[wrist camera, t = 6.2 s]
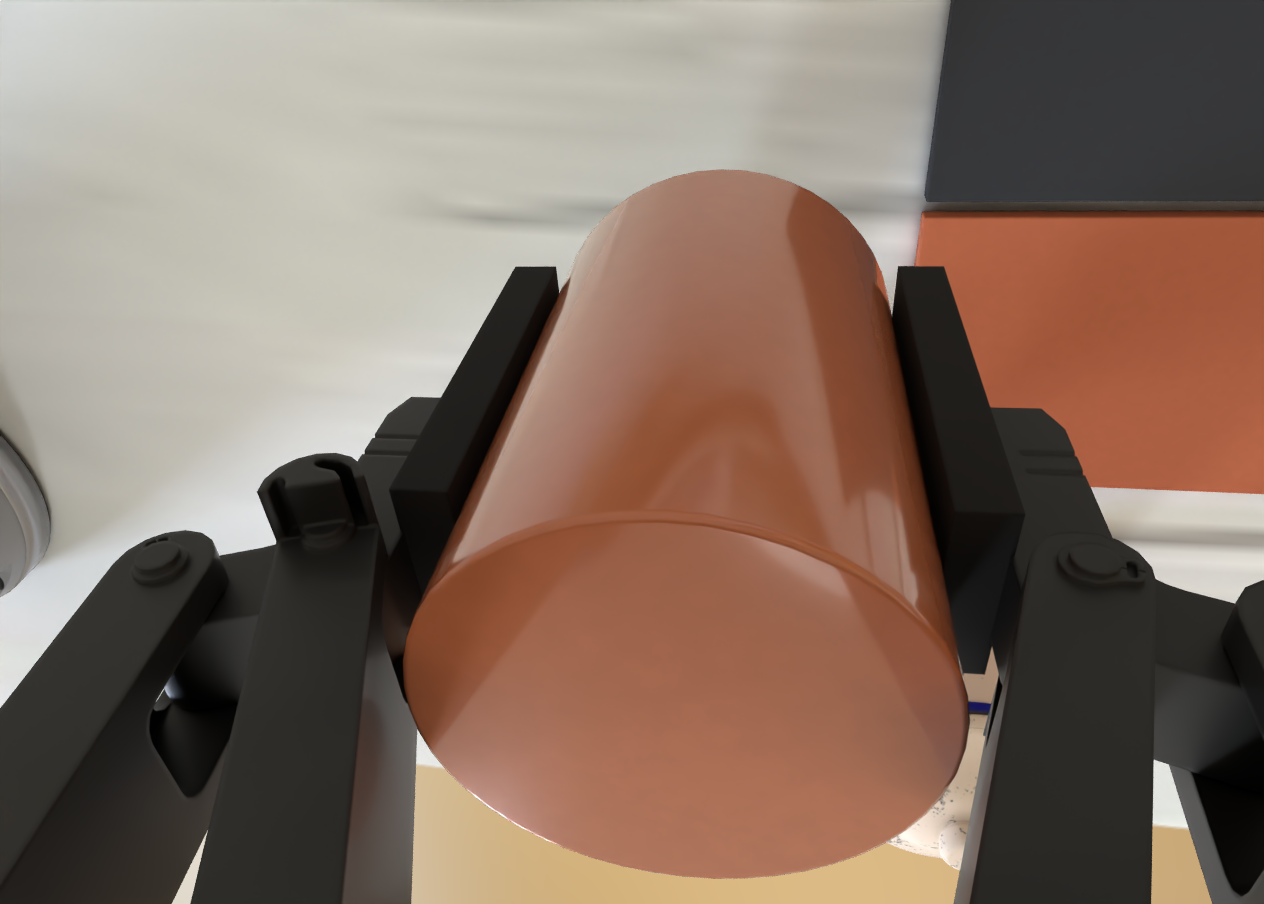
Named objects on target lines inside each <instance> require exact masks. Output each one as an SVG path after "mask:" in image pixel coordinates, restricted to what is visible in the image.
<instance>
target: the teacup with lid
mask: <svg viewBox="0 0 1264 904" xmlns="http://www.w3.org/2000/svg"><path fill="white" fill-rule="evenodd" d="M998 676H999V673H998V669H997V665H996V661H995V657H994V652H993V648H991V652H990V656H989V660H988V664H987V668H986V672H985V675H982V674H967V673H964V678H965V683H966V688H967V693H968V701H969V714H970V726H969V734H968V741H967V747H966V750H965V753H964V755H963V758H962V761H961V764H960V766H959V769H958V772H957V774H956V776H955V777H954V779H953V781H952V782H951V784H950V786H949V787H948V789H947V790H946V792H945V794H944V795H943V796H942V797H941V798H940V800H939V801H938V802H937V803H936V804H935V805H934V806H933V807H932V809H931V810H930V811H929V812H928V813H927V814H926V815H925V816H923V817H922V818H921V819H920V820H918V821H917V822H916V823H915V824H914V825H912V826H911V827H910V828H909V829H907V830H906V831H904V832H903V833H901V834H899V835H898V836H896V837H894V838H893V839H891V840H890V841H888V842H887V843H889V844H891V845H893V846H896V847H898V848H901V849H904V850H907V851H910V852H914V853H917V854H922V855H926V856H932V857H939V858H943V859H944V860H945V862H946V863H947V864H949V865H950V866H951V867H953V868H955V869H958V870H960V867H961V862H962V857H963V852H964V846H965V841H966V836H967V831H968V825H969V820H970V815H971V809H972V804H973V799H974V794H975V788H976V783H977V778H978V773H979V767H980V762H981V757H982V752H983V746H984V741H985V736H983V732H984V729H985V725H986V721H987V717H988V714H989V710H990V706H991V702H992V699H993V695H994V691H995V687H996V684H997V680H998Z"/></svg>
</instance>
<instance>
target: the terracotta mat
mask: <svg viewBox="0 0 1264 904" xmlns="http://www.w3.org/2000/svg"><path fill="white" fill-rule="evenodd" d="M915 266H944V268H945V271H946V274H947V277H948V280H949V283H950V286H951V289H952V292H953V295H954V298H955V301H956V304H957V307H958V310H959V313H960V316H961V319H962V323H963V326H964V329H965V332H966V335H967V338H968V341H969V344H970V347H971V350H972V353H973V356H974V359H975V362H976V365H977V368H978V371H979V374H980V377H981V380H982V383H983V386H984V389H985V392H986V395H987V398H988V402H989V405H990V407H996V408H1041V409H1043V410H1044V411H1045V412H1046V413H1047V414H1048V415H1049V416H1051V417H1052V418H1053V419H1054V420H1055V421H1056V422H1058V423H1059V424H1060V425H1061V426H1062V427H1063V428H1065V430H1066V432H1067V434H1068V437H1069V439H1070V441H1071V444H1072V446H1073V448H1074V451H1075V456H1077V457H1078V460H1079V462H1080V464H1081V467H1082V469H1083V475H1085V476H1086V478H1087V480H1088V483H1089V485H1090V487H1107V488H1131V489H1155V490H1179V491H1203V492H1227V493H1250V494H1264V211H924V212H922V216H921V223H920V230H919V238H918V245H917V252H916V259H915Z"/></svg>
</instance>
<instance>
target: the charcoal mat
mask: <svg viewBox="0 0 1264 904" xmlns="http://www.w3.org/2000/svg"><path fill="white" fill-rule="evenodd" d="M924 195H925V198H926V201H927V202H1049V201H1264V0H951V6H950V13H949V20H948V28H947V35H946V42H945V49H944V57H943V64H942V71H941V78H940V85H939V93H938V100H937V107H936V114H935V122H934V129H933V136H932V143H931V151H930V158H929V165H928V172H927V180H926V187H925V194H924Z"/></svg>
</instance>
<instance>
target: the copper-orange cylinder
mask: <svg viewBox="0 0 1264 904" xmlns="http://www.w3.org/2000/svg"><path fill="white" fill-rule="evenodd" d="M403 680H404V689H405V693H406V697H407V702H408V706H409V710H410V712H411V714H412V717H413V719H414V722H415V724H416V726H417V729H418V731H419V733H420V734H421V736H422V737H423V739H424V741H425V742H426V744H427V746H428V747H429V749H430V750H431V752H432V753H433V754H434V756H435V757H436V758H437V759H438V761H439V762H440V763H441V764H442V765H443V767H444V768H445V769H446V770H447V772H449V774H450V775H452V776H453V777H454V778H455V779H456V780H457V781H458V782H459V783H460V784H461V785H462V786H463V787H464V788H465V789H466V790H467V791H468V792H470V793H471V794H472V795H473V796H475V797H476V798H477V799H479V800H480V801H481V802H482V803H484V804H485V805H486V806H487V807H489V808H490V809H492V810H493V811H495V812H496V813H498V814H500V815H501V816H503V817H504V818H506V819H507V820H509V821H510V822H512V823H514V824H516V825H518V826H520V827H521V828H523V829H525V830H527V831H529V832H531V833H532V834H534V835H536V836H538V837H541V838H543V839H545V840H547V841H550V842H552V843H554V844H556V845H559V846H561V847H563V848H566V849H569V850H571V851H574V852H577V853H580V854H583V855H586V856H588V857H591V858H594V859H598V860H602V861H605V862H609V863H612V864H616V865H620V866H624V867H629V868H634V869H638V870H643V871H648V872H654V873H661V874H669V875H676V876H683V877H698V878H699V877H700V878H713V879H716V878H717V879H722V878H755V877H769V876H778V875H785V874H791V873H797V872H803V871H808V870H812V869H816V868H820V867H824V866H828V865H832V864H835V863H838V862H841V861H844V860H847V859H850V858H853V857H856V856H858V855H861V854H863V853H865V852H868V851H870V850H872V849H874V848H876V847H878V846H880V845H883V844H885V843H886V842H888V841H890V840H891V839H893V838H894V837H896V836H898V835H899V834H901V833H903V832H904V831H906V830H907V829H909V828H910V827H911V826H912V825H914V824H915V823H916V822H917V821H918V820H920V819H921V818H922V817H923V816H925V815H926V814H927V813H928V812H929V811H930V810H931V809H932V807H933V806H934V805H935V804H936V803H937V802H938V801H939V800H940V798H941V797H942V796H943V795H944V794H945V792H946V790H947V789H948V787H949V786H950V784H951V782H952V781H953V779H954V777H955V776H956V774H957V772H958V769H959V766H960V764H961V761H962V758H963V755H964V753H965V750H966V747H967V741H968V734H969V726H970V714H969V701H968V693H967V688H966V683H965V678H964V673H963V668H962V663H961V658H960V653H959V648H958V643H957V638H956V633H955V628H954V623H953V618H952V613H951V608H950V603H949V599H948V594H947V589H946V584H945V579H944V574H943V569H942V564H941V559H940V554H939V549H938V544H937V539H936V534H935V529H934V524H933V519H932V514H931V509H930V504H929V499H928V494H927V489H926V484H925V479H924V474H923V469H922V464H921V459H920V454H919V449H918V444H917V439H916V434H915V429H914V424H913V419H912V414H911V409H910V404H909V399H908V394H907V390H906V385H905V380H904V375H903V370H902V365H901V360H900V355H899V350H898V345H897V340H896V335H895V330H894V325H893V320H892V315H891V310H890V305H889V300H888V295H887V291H886V287H885V283H884V279H883V276H882V272H881V270H880V268H879V265H878V263H877V261H876V259H875V256H874V254H873V252H872V251H871V249H870V248H869V246H868V244H867V243H866V241H865V240H864V238H863V237H862V235H861V234H860V233H859V232H858V231H857V229H856V228H855V227H854V226H853V225H852V224H851V222H850V221H849V220H848V219H847V218H846V217H845V216H844V215H842V214H841V213H840V212H839V211H838V210H837V209H835V208H834V207H833V206H832V205H831V204H829V203H828V202H826V201H825V200H823V199H822V198H820V197H819V196H817V195H816V194H814V193H812V192H811V191H809V190H806V189H804V188H802V187H800V186H798V185H796V184H794V183H792V182H789V181H786V180H783V179H780V178H776V177H773V176H770V175H766V174H761V173H755V172H750V171H742V170H709V171H697V172H693V173H688V174H683V175H679V176H674V177H672V178H669V179H666V180H663V181H660V182H658V183H655V184H652V185H650V186H649V187H647V188H645V189H643V190H641V191H639V192H637V193H635V194H633V195H632V196H630V197H629V198H627V199H626V200H625V201H623V202H622V203H620V204H619V205H618V206H616V207H615V208H614V209H613V210H612V211H611V212H610V213H608V214H607V215H606V216H605V217H604V218H603V219H602V220H601V221H600V222H599V223H598V225H597V226H596V227H595V228H594V230H593V231H592V232H591V233H590V235H589V236H588V237H587V239H586V240H585V242H584V244H583V245H582V247H581V249H580V250H579V252H578V254H577V256H576V258H575V260H574V262H573V265H572V267H571V269H570V271H569V274H568V276H567V278H566V280H565V282H564V285H563V287H562V289H561V291H560V293H559V296H558V298H557V300H556V302H555V305H554V307H553V309H552V311H551V313H550V316H549V318H548V320H547V322H546V324H545V327H544V329H543V331H542V333H541V335H540V338H539V340H538V342H537V344H536V347H535V349H534V351H533V353H532V355H531V358H530V360H529V362H528V364H527V366H526V369H525V371H524V373H523V375H522V378H521V380H520V382H519V384H518V386H517V389H516V391H515V393H514V395H513V397H512V400H511V402H510V404H509V406H508V409H507V411H506V413H505V415H504V417H503V420H502V422H501V424H500V426H499V428H498V431H497V433H496V435H495V437H494V439H493V442H492V444H491V446H490V448H489V451H488V453H487V455H486V457H485V459H484V462H483V464H482V466H481V468H480V470H479V473H478V475H477V477H476V479H475V482H474V484H473V486H472V488H471V490H470V493H469V495H468V497H467V499H466V501H465V504H464V506H463V508H462V510H461V512H460V515H459V517H458V519H457V521H456V524H455V526H454V528H453V530H452V532H451V535H450V537H449V539H448V541H447V543H446V546H445V548H444V550H443V552H442V555H441V557H440V559H439V561H438V563H437V566H436V568H435V570H434V572H433V574H432V577H431V579H430V581H429V583H428V586H427V588H426V590H425V592H424V594H423V597H422V599H421V601H420V603H419V605H418V608H417V610H416V612H415V615H414V617H413V620H412V622H411V625H410V627H409V630H408V633H407V635H406V641H405V647H404V653H403Z"/></svg>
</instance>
